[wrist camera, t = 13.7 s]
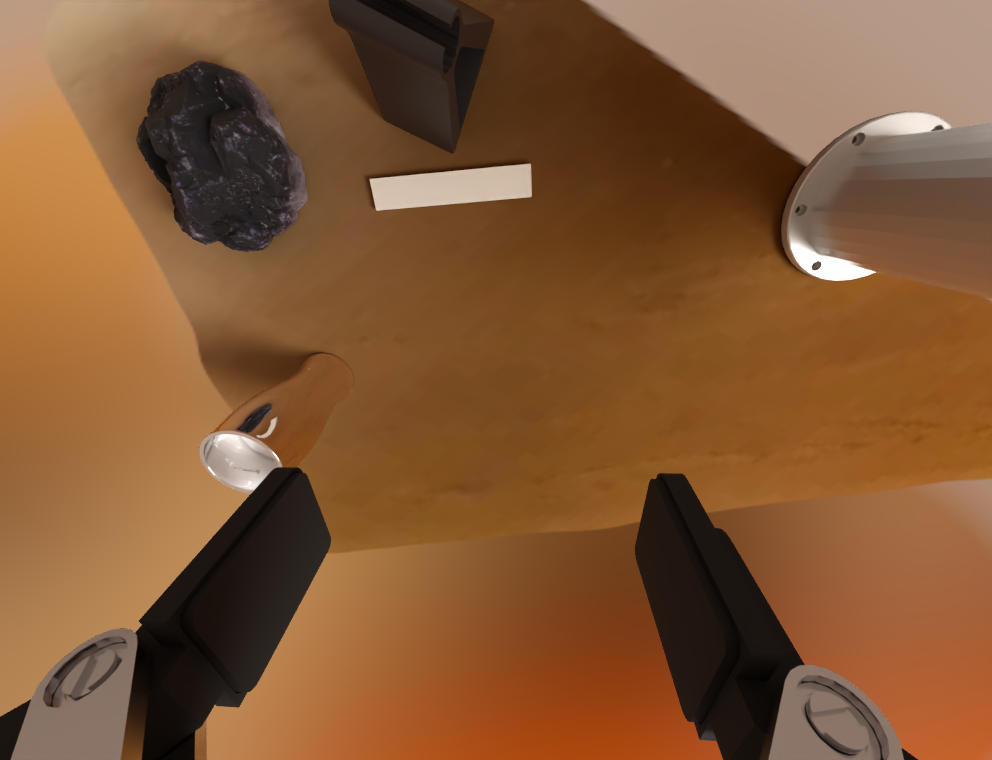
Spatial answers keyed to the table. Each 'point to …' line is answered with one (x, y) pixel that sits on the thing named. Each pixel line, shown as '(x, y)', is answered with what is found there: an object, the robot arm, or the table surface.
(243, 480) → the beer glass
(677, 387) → the table surface
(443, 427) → the table surface
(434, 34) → the phone stand
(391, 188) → the cream panel
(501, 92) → the table surface
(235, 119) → the black rock
